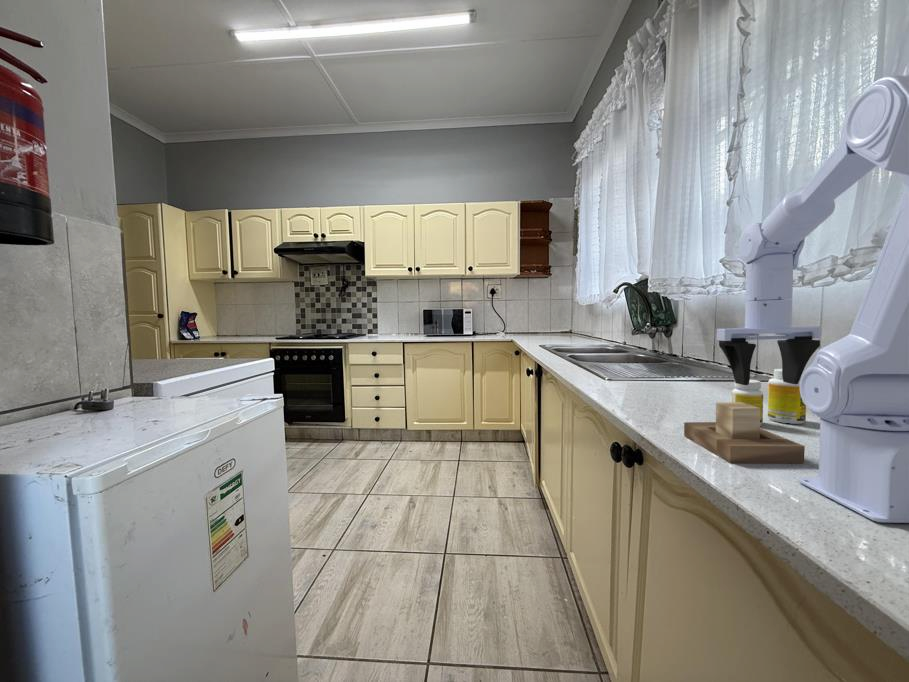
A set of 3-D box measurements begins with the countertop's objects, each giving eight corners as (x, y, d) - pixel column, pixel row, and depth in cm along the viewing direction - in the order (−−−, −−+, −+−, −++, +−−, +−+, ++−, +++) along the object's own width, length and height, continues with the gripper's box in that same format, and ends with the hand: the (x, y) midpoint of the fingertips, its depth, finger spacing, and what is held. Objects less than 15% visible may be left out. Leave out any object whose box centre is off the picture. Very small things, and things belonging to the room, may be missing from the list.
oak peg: (759, 452, 55) (760, 408, 55) (732, 452, 56) (732, 408, 55) (740, 443, 59) (741, 402, 59) (715, 443, 60) (716, 402, 59)
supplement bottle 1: (768, 426, 68) (769, 382, 67) (740, 426, 68) (740, 382, 68) (753, 419, 72) (753, 378, 72) (726, 419, 73) (727, 378, 73)
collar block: (804, 463, 51) (804, 446, 51) (729, 462, 52) (730, 446, 52) (743, 435, 63) (743, 421, 63) (684, 436, 64) (684, 422, 64)
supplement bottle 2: (805, 427, 67) (807, 372, 66) (766, 421, 71) (767, 370, 70) (806, 420, 71) (807, 369, 70) (768, 415, 75) (769, 367, 74)
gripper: (793, 300, 61) (791, 378, 62) (705, 303, 62) (704, 380, 63) (834, 297, 54) (831, 386, 55) (734, 301, 55) (733, 388, 56)
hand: (766, 383), depth 59 cm, fingers open, 7 cm apart
